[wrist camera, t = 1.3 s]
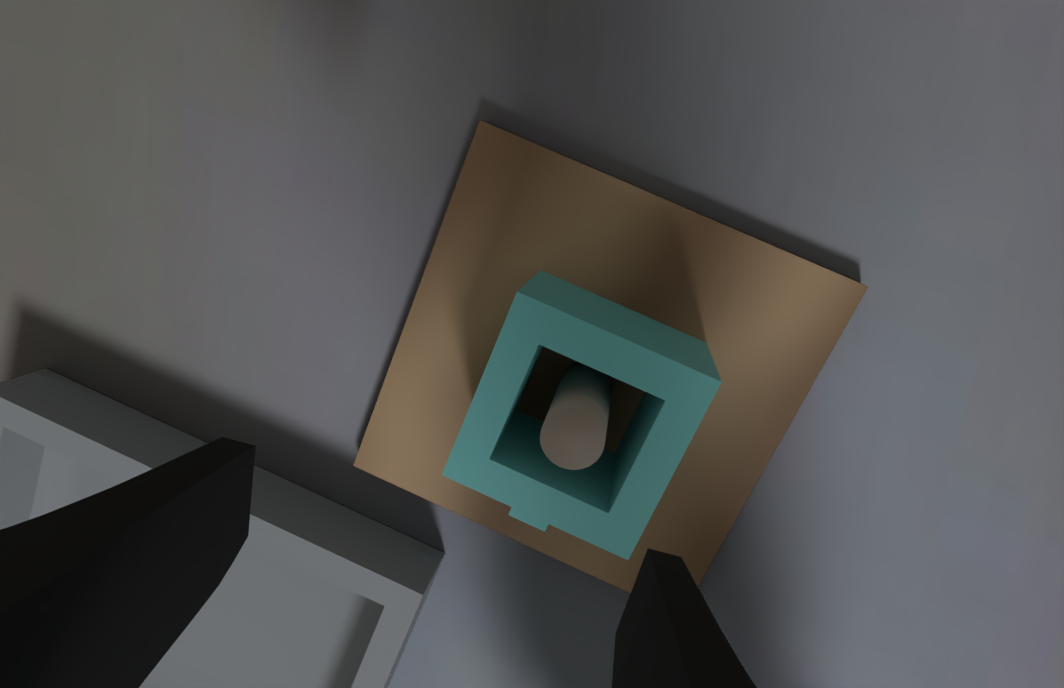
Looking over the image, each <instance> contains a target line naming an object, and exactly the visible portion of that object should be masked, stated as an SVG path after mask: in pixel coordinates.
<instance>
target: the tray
mask: <svg viewBox="0 0 1064 688" xmlns="http://www.w3.org/2000/svg"><path fill="white" fill-rule="evenodd" d="M206 444H208V443H206V442H204V441H202V440H200V439H198V438H195V437H193V436H191V435H189V434H187V433H185V432H182V431H180V430H178V429H176V428H174V427H172V426H170V425H167V424H165V423H163V422H161V421H159V420H157V419H154V418H152V417H150V416H148V415H146V414H144V413H142V412H139V411H137V410H135V409H133V408H131V407H129V406H126V405H124V404H122V403H120V402H118V401H116V400H113V399H111V398H109V397H107V396H105V395H103V394H101V393H98V392H96V391H94V390H92V389H90V388H88V387H85V386H83V385H81V384H79V383H77V382H75V381H73V380H70V379H68V378H66V377H64V376H62V375H60V374H57V373H55V372H53V371H51V370H49V369H47V368H44V369H41V370H38V371H35V372H32V373H28V374H25V375H22V376H19V377H16V378H13V379H10V380H7V381H3V382H0V530H1V529H4V528H7V527H10V526H13V525H16V524H19V523H22V522H24V521H27V520H30V519H33V518H36V517H38V516H41V515H44V514H46V513H49V512H52V511H54V510H57V509H59V508H62V507H64V506H66V505H69V504H71V503H74V502H76V501H79V500H81V499H84V498H86V497H89V496H91V495H94V494H96V493H99V492H101V491H104V490H106V489H109V488H111V487H113V486H116V485H118V484H120V483H122V482H125V481H127V480H129V479H131V478H133V477H136V476H138V475H140V474H142V473H145V472H147V471H149V470H151V469H153V468H156V467H158V466H160V465H162V464H164V463H167V462H169V461H171V460H173V459H175V458H177V457H180V456H182V455H184V454H186V453H188V452H190V451H192V450H195V449H197V448H199V447H201V446H203V445H206ZM444 554H445V553H443V552H441V551H439V550H437V549H435V548H433V547H430V546H428V545H426V544H424V543H422V542H420V541H417V540H415V539H413V538H411V537H409V536H407V535H405V534H402V533H400V532H398V531H396V530H394V529H392V528H389V527H387V526H385V525H383V524H381V523H379V522H376V521H374V520H372V519H370V518H368V517H366V516H364V515H361V514H359V513H357V512H355V511H353V510H351V509H348V508H346V507H344V506H342V505H340V504H338V503H336V502H333V501H331V500H329V499H327V498H325V497H323V496H320V495H318V494H316V493H314V492H312V491H310V490H307V489H305V488H303V487H301V486H299V485H297V484H295V483H292V482H290V481H288V480H286V479H284V478H282V477H279V476H277V475H275V474H273V473H271V472H269V471H267V470H264V469H262V468H260V467H258V466H256V465H254V471H253V483H252V496H251V509H250V521H249V534H248V538H247V539H246V541H245V543H244V544H243V546H242V548H241V550H240V551H239V553H238V555H237V556H236V558H235V560H234V562H233V563H232V565H231V567H230V568H229V570H228V571H227V573H226V575H225V576H224V578H223V579H222V581H221V583H220V584H219V586H218V587H217V588H216V590H215V591H214V592H213V594H212V595H211V596H210V598H209V599H208V600H207V602H206V603H205V604H204V605H203V607H202V608H201V609H200V611H199V612H198V613H197V614H196V616H195V617H194V618H193V620H192V621H191V622H190V623H189V625H188V626H187V627H186V629H185V630H184V631H183V632H182V634H181V635H180V636H179V637H178V639H177V640H176V641H175V642H174V644H173V645H172V646H171V648H170V649H169V650H168V651H167V653H166V654H165V655H164V656H163V658H162V659H161V660H160V661H159V663H158V664H157V665H156V667H155V668H154V669H153V670H152V672H151V673H150V674H149V675H148V677H147V678H146V679H145V680H144V682H143V683H142V684H141V686H140V687H139V688H387V687H388V685H389V682H390V680H391V678H392V675H393V673H394V671H395V669H396V666H397V664H398V662H399V659H400V657H401V655H402V652H403V650H404V648H405V645H406V643H407V641H408V638H409V636H410V634H411V631H412V629H413V627H414V624H415V622H416V620H417V617H418V615H419V613H420V610H421V608H422V606H423V603H424V601H425V599H426V596H427V594H428V592H429V589H430V587H431V585H432V582H433V580H434V578H435V575H436V573H437V571H438V568H439V566H440V564H441V561H442V559H443V557H444Z"/></svg>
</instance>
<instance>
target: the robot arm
mask: <svg viewBox="0 0 1064 688" xmlns="http://www.w3.org/2000/svg"><path fill="white" fill-rule="evenodd" d="M254 458H255V446H254V445H250V444H246V443H243V442H239V441H235V440H231V439H227V438H223V437H222V438H220V439H218V440H215V441H213V442H210V443H208V444H206V445H203V446H201V447H199V448H197V449H195V450H192V451H190V452H188V453H186V454H184V455H182V456H180V457H177V458H175V459H173V460H171V461H169V462H167V463H164V464H162V465H160V466H158V467H156V468H153V469H151V470H149V471H147V472H145V473H142V474H140V475H138V476H136V477H133V478H131V479H129V480H127V481H125V482H122V483H120V484H118V485H116V486H113V487H111V488H109V489H106V490H104V491H101V492H99V493H96V494H94V495H91V496H89V497H86V498H84V499H81V500H79V501H76V502H74V503H71V504H69V505H66V506H64V507H62V508H59V509H57V510H54V511H52V512H49V513H46V514H44V515H41V516H38V517H36V518H33V519H30V520H27V521H24V522H22V523H19V524H16V525H13V526H10V527H7V528H4V529H1V530H0V688H139V687H140V686H141V684H142V683H143V682H144V680H145V679H146V678H147V677H148V675H149V674H150V673H151V672H152V670H153V669H154V668H155V667H156V665H157V664H158V663H159V661H160V660H161V659H162V658H163V656H164V655H165V654H166V653H167V651H168V650H169V649H170V648H171V646H172V645H173V644H174V642H175V641H176V640H177V639H178V637H179V636H180V635H181V634H182V632H183V631H184V630H185V629H186V627H187V626H188V625H189V623H190V622H191V621H192V620H193V618H194V617H195V616H196V614H197V613H198V612H199V611H200V609H201V608H202V607H203V605H204V604H205V603H206V602H207V600H208V599H209V598H210V596H211V595H212V594H213V592H214V591H215V590H216V588H217V587H218V586H219V584H220V583H221V581H222V579H223V578H224V576H225V575H226V573H227V571H228V570H229V568H230V567H231V565H232V563H233V562H234V560H235V558H236V556H237V555H238V553H239V551H240V550H241V548H242V546H243V544H244V543H245V541H246V539H247V538H248V534H249V521H250V509H251V496H252V483H253V471H254ZM612 688H756V686H755V685H754V683H753V682H752V680H751V679H750V677H749V676H748V674H747V673H746V671H745V669H744V668H743V666H742V665H741V663H740V661H739V659H738V658H737V656H736V654H735V653H734V651H733V649H732V648H731V646H730V644H729V643H728V641H727V639H726V637H725V636H724V634H723V632H722V631H721V629H720V627H719V625H718V623H717V622H716V620H715V618H714V616H713V614H712V613H711V611H710V609H709V607H708V605H707V603H706V602H705V600H704V598H703V596H702V594H701V592H700V590H699V589H698V587H697V585H696V583H695V581H694V579H693V577H692V575H691V574H690V572H689V570H688V568H687V566H686V564H685V563H684V561H683V559H682V557H680V556H676V555H672V554H668V553H665V552H661V551H657V550H653V549H649V548H648V549H647V552H646V554H645V557H644V559H643V562H642V565H641V567H640V570H639V573H638V575H637V578H636V581H635V583H634V586H633V589H632V591H631V594H630V597H629V599H628V602H627V605H626V607H625V610H624V613H623V615H622V618H621V621H620V623H619V626H618V629H617V631H616V638H615V651H614V664H613V680H612Z"/></svg>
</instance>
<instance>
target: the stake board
mask: <svg viewBox="0 0 1064 688" xmlns="http://www.w3.org/2000/svg"><path fill="white" fill-rule="evenodd" d="M540 270H542V271H544V272H546V273H549V274H551V275H553V276H555V277H558V278H560V279H562V280H565V281H567V282H569V283H571V284H574V285H576V286H578V287H580V288H583V289H585V290H587V291H590V292H592V293H594V294H596V295H599V296H601V297H603V298H606V299H608V300H610V301H612V302H615V303H617V304H619V305H621V306H624V307H626V308H628V309H631V310H633V311H635V312H637V313H640V314H642V315H644V316H647V317H649V318H651V319H653V320H656V321H658V322H660V323H662V324H665V325H667V326H669V327H672V328H674V329H676V330H678V331H681V332H683V333H685V334H688V335H690V336H692V337H694V338H697V339H699V340H701V341H704V342H706V343H707V345H708V348H709V350H710V353H711V355H712V358H713V360H714V363H715V366H716V368H717V371H718V373H719V376H720V378H721V381H722V382H721V384H720V386H719V388H718V390H717V392H716V394H715V396H714V398H713V400H712V402H711V403H710V405H709V407H708V409H707V411H706V413H705V415H704V417H703V419H702V421H701V422H700V424H699V426H698V428H697V430H696V432H695V434H694V436H693V438H692V440H691V442H690V443H689V445H688V447H687V449H686V451H685V453H684V455H683V457H682V459H681V461H680V462H679V464H678V466H677V468H676V470H675V472H674V474H673V476H672V478H671V480H670V481H669V483H668V485H667V487H666V489H665V491H664V493H663V495H662V497H661V499H660V501H659V502H658V504H657V506H656V508H655V510H654V512H653V514H652V516H651V518H650V520H649V521H648V523H647V525H646V527H645V529H644V531H643V533H642V535H641V537H640V539H639V541H638V542H637V544H636V546H635V548H634V550H633V552H632V554H631V556H630V558H629V560H626V559H624V558H622V557H620V556H617V555H615V554H613V553H611V552H609V551H606V550H604V549H602V548H600V547H598V546H596V545H593V544H591V543H589V542H587V541H585V540H582V539H580V538H578V537H576V536H574V535H571V534H569V533H567V532H565V531H563V530H561V529H558V528H556V527H554V526H552V525H550V524H548V526H547V528H546V531H545V532H544V531H542V530H540V529H538V528H536V527H533V526H531V525H529V524H527V523H525V522H522V521H520V520H518V519H516V518H514V517H512V516H509V515H508V514H509V512H510V509H511V507H510V506H508V505H506V504H504V503H502V502H499V501H497V500H495V499H493V498H491V497H489V496H486V495H484V494H482V493H480V492H478V491H475V490H473V489H471V488H469V487H467V486H464V485H462V484H460V483H458V482H456V481H454V480H451V479H449V478H447V477H445V476H443V475H442V473H443V470H444V468H445V465H446V463H447V460H448V458H449V456H450V453H451V451H452V448H453V446H454V443H455V441H456V439H457V436H458V434H459V431H460V429H461V426H462V424H463V422H464V419H465V417H466V414H467V412H468V409H469V407H470V405H471V402H472V400H473V397H474V395H475V392H476V390H477V388H478V385H479V383H480V380H481V378H482V375H483V373H484V371H485V368H486V366H487V363H488V361H489V358H490V356H491V354H492V351H493V349H494V346H495V344H496V341H497V339H498V337H499V334H500V332H501V329H502V327H503V324H504V322H505V320H506V317H507V315H508V312H509V310H510V307H511V305H512V302H513V300H514V298H515V295H516V293H517V291H518V290H519V289H520V288H521V287H522V286H524V285H525V284H526V283H527V282H528V281H529V280H530V279H531V278H532V277H533V276H534V275H535V274H537V273H538V272H539V271H540ZM867 288H868V286H866V285H863V284H861V283H859V282H857V281H854V280H852V279H850V278H847V277H845V276H843V275H840V274H838V273H836V272H833V271H831V270H829V269H826V268H824V267H822V266H819V265H817V264H815V263H812V262H810V261H808V260H805V259H803V258H801V257H798V256H796V255H794V254H792V253H789V252H787V251H785V250H782V249H780V248H778V247H775V246H773V245H771V244H768V243H766V242H764V241H761V240H759V239H757V238H754V237H752V236H750V235H747V234H745V233H743V232H740V231H738V230H736V229H733V228H731V227H729V226H726V225H724V224H722V223H719V222H717V221H715V220H712V219H710V218H708V217H705V216H703V215H701V214H698V213H696V212H694V211H691V210H689V209H687V208H684V207H682V206H680V205H677V204H675V203H673V202H670V201H668V200H666V199H663V198H661V197H659V196H656V195H654V194H652V193H649V192H647V191H645V190H642V189H640V188H638V187H635V186H633V185H631V184H628V183H626V182H624V181H621V180H619V179H617V178H614V177H612V176H610V175H608V174H605V173H603V172H601V171H598V170H596V169H594V168H591V167H589V166H587V165H584V164H582V163H580V162H577V161H575V160H573V159H570V158H568V157H566V156H563V155H561V154H559V153H556V152H554V151H552V150H549V149H547V148H545V147H542V146H540V145H538V144H535V143H533V142H531V141H528V140H526V139H524V138H521V137H519V136H517V135H514V134H512V133H510V132H507V131H505V130H503V129H500V128H498V127H496V126H493V125H491V124H489V123H486V122H484V121H481V120H480V121H479V124H478V126H477V129H476V132H475V135H474V137H473V140H472V143H471V145H470V148H469V151H468V154H467V156H466V159H465V162H464V165H463V167H462V170H461V173H460V175H459V178H458V181H457V184H456V186H455V189H454V192H453V195H452V197H451V200H450V203H449V206H448V208H447V211H446V214H445V216H444V219H443V222H442V225H441V227H440V230H439V233H438V236H437V238H436V241H435V244H434V246H433V249H432V252H431V255H430V257H429V260H428V263H427V266H426V268H425V271H424V274H423V276H422V279H421V282H420V285H419V287H418V290H417V293H416V296H415V298H414V301H413V304H412V306H411V309H410V312H409V315H408V317H407V320H406V323H405V326H404V328H403V331H402V334H401V337H400V339H399V342H398V345H397V347H396V350H395V353H394V356H393V358H392V361H391V364H390V367H389V369H388V372H387V375H386V377H385V380H384V383H383V386H382V388H381V391H380V394H379V397H378V399H377V402H376V405H375V407H374V410H373V413H372V416H371V418H370V421H369V424H368V427H367V429H366V432H365V435H364V437H363V440H362V443H361V446H360V448H359V451H358V454H357V457H356V459H355V462H354V465H353V466H355V467H357V468H359V469H361V470H363V471H366V472H368V473H370V474H372V475H374V476H376V477H379V478H381V479H383V480H385V481H387V482H389V483H392V484H394V485H396V486H398V487H400V488H403V489H405V490H407V491H409V492H411V493H413V494H416V495H418V496H420V497H422V498H424V499H426V500H429V501H431V502H433V503H435V504H437V505H439V506H442V507H444V508H446V509H448V510H450V511H452V512H455V513H457V514H459V515H461V516H463V517H465V518H468V519H470V520H472V521H474V522H476V523H479V524H481V525H483V526H485V527H487V528H489V529H492V530H494V531H496V532H498V533H500V534H502V535H505V536H507V537H509V538H511V539H513V540H515V541H518V542H520V543H522V544H524V545H526V546H528V547H531V548H533V549H535V550H537V551H539V552H542V553H544V554H546V555H548V556H550V557H552V558H555V559H557V560H559V561H561V562H563V563H565V564H568V565H570V566H572V567H574V568H576V569H578V570H581V571H583V572H585V573H587V574H589V575H591V576H594V577H596V578H598V579H600V580H602V581H604V582H607V583H609V584H611V585H613V586H615V587H618V588H620V589H622V590H624V591H626V592H628V593H631V591H632V589H633V586H634V583H635V581H636V578H637V575H638V573H639V570H640V567H641V565H642V562H643V559H644V557H645V554H646V552H647V549H648V548H649V549H653V550H657V551H661V552H665V553H668V554H672V555H676V556H680V557H682V559H683V561H684V563H685V564H686V566H687V568H688V570H689V572H690V574H691V575H692V577H693V579H694V581H695V583H696V585H697V587H698V585H699V583H700V582H701V580H702V578H703V576H704V575H705V573H706V571H707V569H708V568H709V566H710V564H711V562H712V561H713V559H714V557H715V555H716V554H717V552H718V550H719V548H720V547H721V545H722V543H723V541H724V539H725V538H726V536H727V534H728V532H729V531H730V529H731V527H732V525H733V524H734V522H735V520H736V518H737V517H738V515H739V513H740V511H741V510H742V508H743V506H744V504H745V503H746V501H747V499H748V497H749V496H750V494H751V492H752V490H753V488H754V487H755V485H756V483H757V481H758V480H759V478H760V476H761V474H762V473H763V471H764V469H765V467H766V466H767V464H768V462H769V460H770V459H771V457H772V455H773V453H774V452H775V450H776V448H777V446H778V445H779V443H780V441H781V439H782V437H783V436H784V434H785V432H786V430H787V429H788V427H789V425H790V423H791V422H792V420H793V418H794V416H795V415H796V413H797V411H798V409H799V408H800V406H801V404H802V402H803V401H804V399H805V397H806V395H807V393H808V392H809V390H810V388H811V386H812V385H813V383H814V381H815V379H816V378H817V376H818V374H819V372H820V371H821V369H822V367H823V365H824V364H825V362H826V360H827V358H828V357H829V355H830V353H831V351H832V350H833V348H834V346H835V344H836V342H837V341H838V339H839V337H840V335H841V334H842V332H843V330H844V328H845V327H846V325H847V323H848V321H849V320H850V318H851V316H852V314H853V313H854V311H855V309H856V307H857V306H858V304H859V302H860V300H861V299H862V297H863V295H864V293H865V291H866V290H867ZM644 393H645V391H643V390H641V389H638V388H636V387H634V386H632V385H629V384H627V383H625V382H623V381H620V380H618V379H616V378H614V377H611V376H609V375H607V374H605V373H602V372H600V371H598V370H596V369H593V368H591V367H589V366H587V365H584V364H582V363H580V362H578V361H575V360H573V359H571V358H569V357H566V356H564V355H562V354H560V353H557V352H555V351H553V350H551V349H548V348H546V347H544V346H543V349H542V351H541V353H540V356H539V358H538V360H537V363H536V365H535V367H534V370H533V372H532V374H531V376H530V379H529V381H528V383H527V386H526V388H525V390H524V393H523V395H522V397H521V399H520V402H519V404H518V406H517V410H520V411H522V412H524V413H526V414H528V415H531V416H533V417H535V418H537V419H540V420H542V421H544V423H543V426H542V428H541V432H540V443H541V447H542V450H543V452H544V454H545V455H546V457H547V458H548V459H549V460H550V461H551V462H552V463H554V464H555V465H557V466H559V467H561V468H564V469H569V470H579V469H584V468H586V467H589V466H590V465H592V464H593V463H595V462H596V461H597V460H598V459H599V457H600V456H601V454H602V452H603V450H604V449H606V450H608V451H611V452H613V453H615V452H616V450H617V448H618V445H619V443H620V441H621V439H622V437H623V435H624V433H625V431H626V429H627V427H628V425H629V423H630V421H631V419H632V417H633V415H634V413H635V411H636V409H637V407H638V405H639V403H640V401H641V399H642V397H643V395H644Z"/></svg>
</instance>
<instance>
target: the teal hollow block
mask: <svg viewBox="0 0 1064 688" xmlns="http://www.w3.org/2000/svg"><path fill="white" fill-rule="evenodd" d="M543 346H544V347H546V348H548V349H551V350H553V351H555V352H557V353H560V354H562V355H564V356H566V357H569V358H571V359H573V360H575V361H578V362H580V363H582V364H584V365H587V366H589V367H591V368H593V369H596V370H598V371H600V372H602V373H605V374H607V375H609V376H611V377H614V378H616V379H618V380H620V381H623V382H625V383H627V384H629V385H632V386H634V387H636V388H638V389H641V390H643V391H645V393H644V395H643V397H642V399H641V401H640V403H639V405H638V407H637V409H636V411H635V413H634V415H633V417H632V419H631V421H630V423H629V425H628V427H627V429H626V431H625V433H624V435H623V437H622V439H621V441H620V443H619V445H618V448H617V450H616V452H615V453H613V452H611V451H608V450H606V449H604V450H603V452H602V454H601V456H600V457H599V459H598V460H597V461H596V462H595V463H593V464H592V465H590V466H589V467H586V468H584V469H579V470H569V469H564V468H561V467H559V466H557V465H555V464H554V463H552V462H551V461H550V460H549V459H548V458H547V457H546V455H545V454H544V452H543V450H542V447H541V443H540V432H541V428H542V426H543V423H544V421H542V420H540V419H537V418H535V417H533V416H531V415H528V414H526V413H524V412H522V411H520V410H517V406H518V404H519V402H520V399H521V397H522V395H523V393H524V390H525V388H526V386H527V383H528V381H529V379H530V376H531V374H532V372H533V370H534V367H535V365H536V363H537V360H538V358H539V356H540V353H541V351H542V349H543ZM721 382H722V381H721V378H720V376H719V373H718V371H717V368H716V366H715V363H714V360H713V358H712V355H711V353H710V350H709V348H708V345H707V343H706V342H704V341H701V340H699V339H697V338H694V337H692V336H690V335H688V334H685V333H683V332H681V331H678V330H676V329H674V328H672V327H669V326H667V325H665V324H662V323H660V322H658V321H656V320H653V319H651V318H649V317H647V316H644V315H642V314H640V313H637V312H635V311H633V310H631V309H628V308H626V307H624V306H621V305H619V304H617V303H615V302H612V301H610V300H608V299H606V298H603V297H601V296H599V295H596V294H594V293H592V292H590V291H587V290H585V289H583V288H580V287H578V286H576V285H574V284H571V283H569V282H567V281H565V280H562V279H560V278H558V277H555V276H553V275H551V274H549V273H546V272H544V271H542V270H540V271H539V272H538V273H537V274H535V275H534V276H533V277H532V278H531V279H530V280H529V281H528V282H527V283H526V284H525V285H524V286H522V287H521V288H520V289H519V290H518V291H517V293H516V295H515V298H514V300H513V302H512V305H511V307H510V310H509V312H508V315H507V317H506V320H505V322H504V324H503V327H502V329H501V332H500V334H499V337H498V339H497V341H496V344H495V346H494V349H493V351H492V354H491V356H490V358H489V361H488V363H487V366H486V368H485V371H484V373H483V375H482V378H481V380H480V383H479V385H478V388H477V390H476V392H475V395H474V397H473V400H472V402H471V405H470V407H469V409H468V412H467V414H466V417H465V419H464V422H463V424H462V426H461V429H460V431H459V434H458V436H457V439H456V441H455V443H454V446H453V448H452V451H451V453H450V456H449V458H448V460H447V463H446V465H445V468H444V470H443V473H442V475H443V476H445V477H447V478H449V479H451V480H454V481H456V482H458V483H460V484H462V485H464V486H467V487H469V488H471V489H473V490H475V491H478V492H480V493H482V494H484V495H486V496H489V497H491V498H493V499H495V500H497V501H499V502H502V503H504V504H506V505H508V506H510V507H511V509H510V512H509V514H508V515H509V516H512V517H514V518H516V519H518V520H520V521H522V522H525V523H527V524H529V525H531V526H533V527H536V528H538V529H540V530H542V531H544V532H545V531H546V528H547V526H548V524H550V525H552V526H554V527H556V528H558V529H561V530H563V531H565V532H567V533H569V534H571V535H574V536H576V537H578V538H580V539H582V540H585V541H587V542H589V543H591V544H593V545H596V546H598V547H600V548H602V549H604V550H606V551H609V552H611V553H613V554H615V555H617V556H620V557H622V558H624V559H626V560H629V558H630V556H631V554H632V552H633V550H634V548H635V546H636V544H637V542H638V541H639V539H640V537H641V535H642V533H643V531H644V529H645V527H646V525H647V523H648V521H649V520H650V518H651V516H652V514H653V512H654V510H655V508H656V506H657V504H658V502H659V501H660V499H661V497H662V495H663V493H664V491H665V489H666V487H667V485H668V483H669V481H670V480H671V478H672V476H673V474H674V472H675V470H676V468H677V466H678V464H679V462H680V461H681V459H682V457H683V455H684V453H685V451H686V449H687V447H688V445H689V443H690V442H691V440H692V438H693V436H694V434H695V432H696V430H697V428H698V426H699V424H700V422H701V421H702V419H703V417H704V415H705V413H706V411H707V409H708V407H709V405H710V403H711V402H712V400H713V398H714V396H715V394H716V392H717V390H718V388H719V386H720V384H721Z"/></svg>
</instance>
